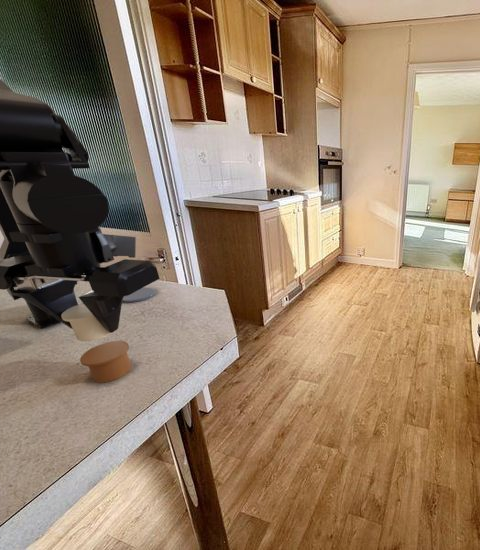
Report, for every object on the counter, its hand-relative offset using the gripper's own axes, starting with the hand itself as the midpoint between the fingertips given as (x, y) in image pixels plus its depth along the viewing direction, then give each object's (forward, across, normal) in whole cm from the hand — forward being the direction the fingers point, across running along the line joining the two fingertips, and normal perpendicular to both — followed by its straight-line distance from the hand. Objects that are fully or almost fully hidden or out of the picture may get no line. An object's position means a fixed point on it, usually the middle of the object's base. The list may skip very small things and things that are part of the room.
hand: (96, 329), depth 41 cm
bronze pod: (+8, 0, 0) cm, 8 cm away
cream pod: (0, 0, 0) cm, 1 cm away
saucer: (+8, +16, -23) cm, 29 cm away
